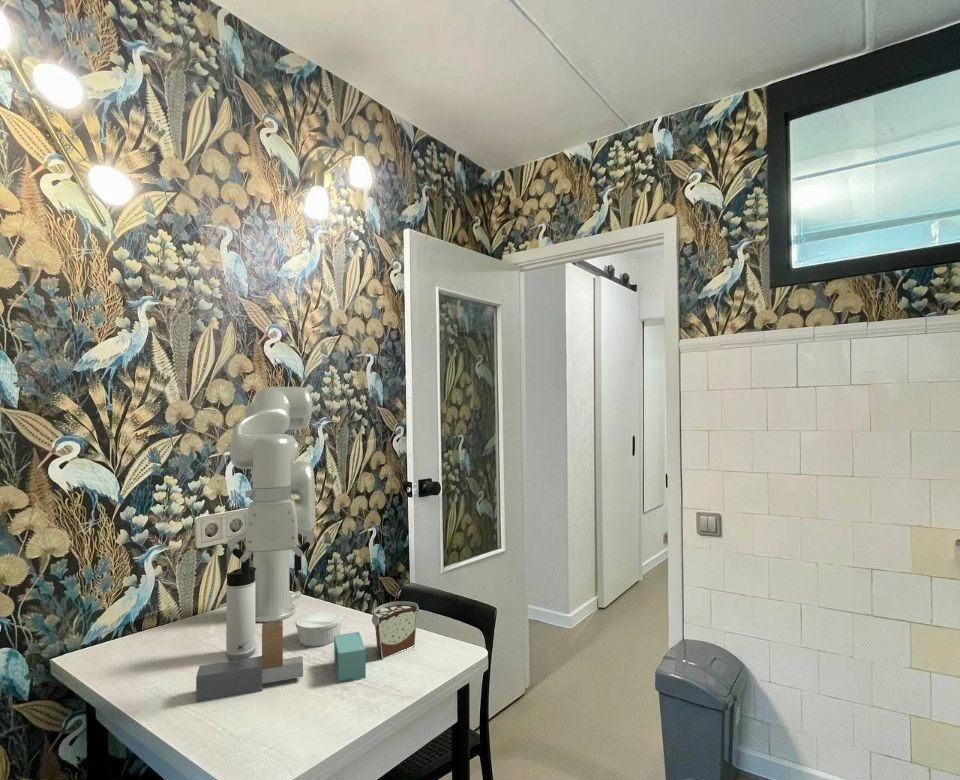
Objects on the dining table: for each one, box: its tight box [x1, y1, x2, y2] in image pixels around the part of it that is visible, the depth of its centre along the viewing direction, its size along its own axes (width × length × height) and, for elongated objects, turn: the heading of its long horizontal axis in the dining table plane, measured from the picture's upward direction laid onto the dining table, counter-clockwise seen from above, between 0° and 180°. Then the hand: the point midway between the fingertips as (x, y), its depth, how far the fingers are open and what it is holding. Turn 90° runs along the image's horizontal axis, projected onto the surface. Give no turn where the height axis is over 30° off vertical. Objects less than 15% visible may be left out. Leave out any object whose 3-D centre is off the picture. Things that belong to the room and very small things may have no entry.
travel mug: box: [225, 566, 256, 661], centre depth 129 cm, size 6×7×20 cm
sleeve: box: [195, 655, 263, 703], centre depth 112 cm, size 12×5×5 cm, turn 110°
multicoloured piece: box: [261, 619, 304, 685], centre depth 114 cm, size 19×4×11 cm, turn 110°
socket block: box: [333, 631, 367, 683], centre depth 120 cm, size 6×10×6 cm, turn 20°
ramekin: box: [295, 609, 343, 648], centre depth 137 cm, size 11×11×5 cm
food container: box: [371, 600, 420, 660], centre depth 131 cm, size 12×6×10 cm, turn 134°
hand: (272, 576), depth 115 cm, fingers open, 9 cm apart
